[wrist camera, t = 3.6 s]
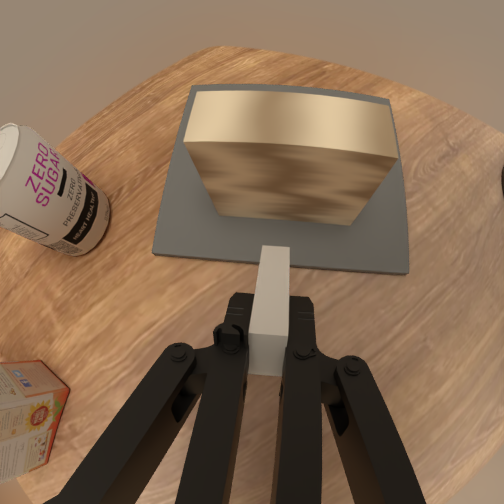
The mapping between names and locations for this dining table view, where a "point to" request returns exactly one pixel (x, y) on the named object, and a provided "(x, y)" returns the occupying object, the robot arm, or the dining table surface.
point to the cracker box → (27, 416)
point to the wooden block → (290, 153)
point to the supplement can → (47, 195)
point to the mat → (281, 231)
